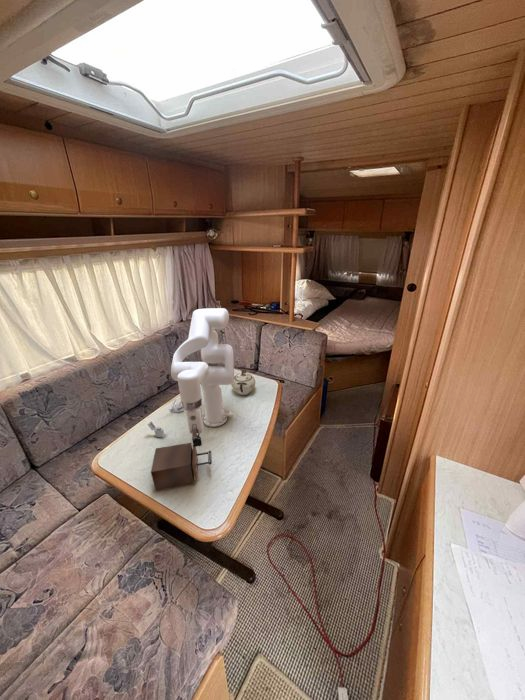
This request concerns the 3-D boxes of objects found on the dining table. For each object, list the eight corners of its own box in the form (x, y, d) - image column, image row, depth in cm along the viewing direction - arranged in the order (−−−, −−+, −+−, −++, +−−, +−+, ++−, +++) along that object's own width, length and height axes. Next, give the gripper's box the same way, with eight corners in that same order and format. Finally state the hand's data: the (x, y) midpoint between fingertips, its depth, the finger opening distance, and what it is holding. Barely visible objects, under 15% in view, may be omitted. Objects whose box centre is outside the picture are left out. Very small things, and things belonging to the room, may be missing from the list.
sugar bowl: (234, 383, 181) (233, 363, 175) (257, 383, 180) (256, 363, 174) (229, 400, 163) (227, 378, 157) (254, 400, 162) (253, 378, 156)
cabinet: (194, 460, 121) (191, 442, 117) (193, 483, 110) (190, 464, 106) (159, 466, 118) (155, 448, 114) (155, 490, 107) (150, 472, 103)
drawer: (212, 456, 121) (210, 441, 118) (213, 477, 111) (211, 461, 108) (166, 464, 118) (162, 449, 115) (163, 486, 108) (159, 471, 104)
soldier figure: (190, 406, 160) (178, 412, 149) (185, 411, 161) (173, 417, 150) (183, 395, 161) (170, 401, 150) (178, 400, 162) (165, 406, 151)
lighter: (165, 435, 136) (162, 422, 133) (163, 437, 135) (160, 424, 132) (152, 433, 138) (149, 421, 134) (150, 436, 136) (147, 423, 133)
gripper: (202, 414, 95) (207, 453, 102) (202, 388, 111) (206, 423, 118) (180, 417, 94) (187, 456, 101) (183, 391, 109) (189, 426, 116)
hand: (197, 438), depth 109 cm, fingers open, 7 cm apart
